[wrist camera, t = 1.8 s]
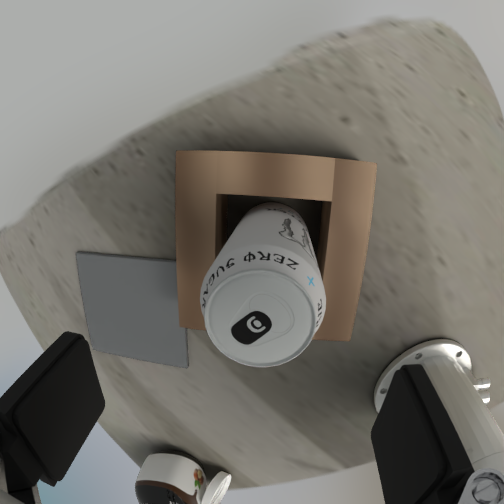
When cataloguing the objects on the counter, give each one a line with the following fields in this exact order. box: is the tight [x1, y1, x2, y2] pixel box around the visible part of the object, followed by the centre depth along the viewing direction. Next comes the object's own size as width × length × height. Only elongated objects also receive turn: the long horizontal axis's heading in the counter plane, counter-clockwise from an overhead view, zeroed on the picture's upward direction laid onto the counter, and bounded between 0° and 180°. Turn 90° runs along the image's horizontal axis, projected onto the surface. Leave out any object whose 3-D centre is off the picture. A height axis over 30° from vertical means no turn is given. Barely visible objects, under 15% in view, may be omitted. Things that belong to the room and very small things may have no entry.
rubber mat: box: [76, 252, 189, 368], centre depth 31 cm, size 12×12×1 cm
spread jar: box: [135, 450, 231, 504], centre depth 34 cm, size 12×11×12 cm
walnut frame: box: [175, 151, 377, 341], centre depth 25 cm, size 14×14×5 cm
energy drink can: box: [200, 202, 326, 367], centre depth 20 cm, size 6×6×15 cm
